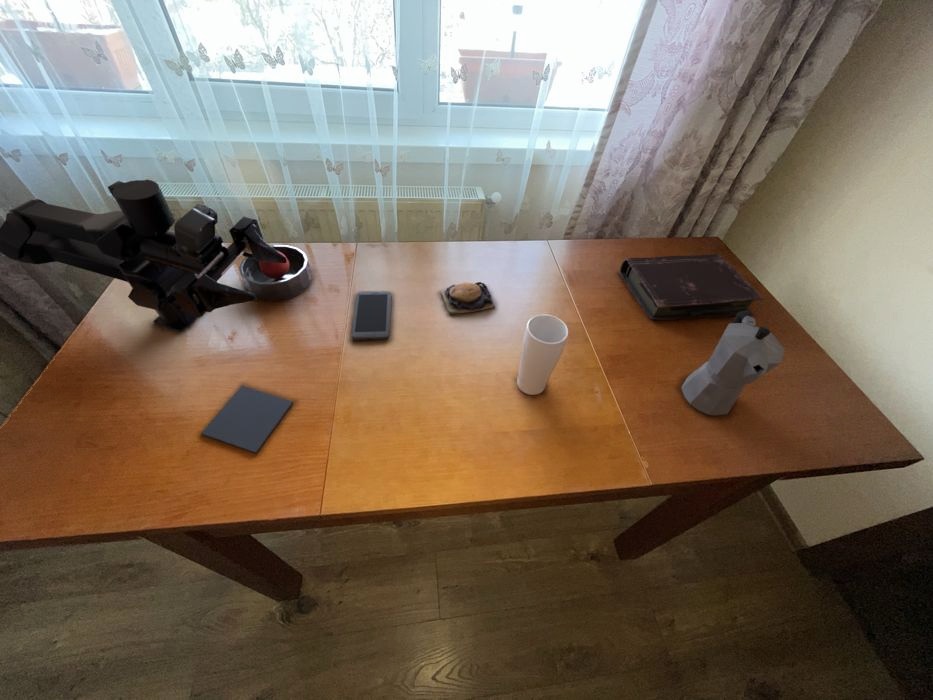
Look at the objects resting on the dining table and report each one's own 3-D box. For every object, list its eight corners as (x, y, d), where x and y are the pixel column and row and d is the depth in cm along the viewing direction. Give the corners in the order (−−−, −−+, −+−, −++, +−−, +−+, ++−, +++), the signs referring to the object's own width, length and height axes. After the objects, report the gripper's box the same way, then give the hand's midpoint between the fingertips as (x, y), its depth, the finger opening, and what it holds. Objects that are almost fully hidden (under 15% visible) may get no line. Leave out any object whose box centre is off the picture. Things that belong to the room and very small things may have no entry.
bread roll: (449, 317, 85) (449, 304, 82) (439, 291, 90) (439, 278, 87) (496, 309, 87) (498, 296, 84) (484, 284, 92) (485, 272, 90)
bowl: (233, 291, 86) (224, 274, 82) (271, 256, 94) (265, 239, 91) (289, 307, 84) (283, 290, 80) (323, 269, 92) (319, 253, 89)
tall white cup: (551, 376, 76) (572, 320, 65) (544, 404, 72) (565, 349, 60) (517, 366, 77) (531, 309, 66) (508, 393, 73) (521, 336, 61)
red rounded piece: (284, 288, 87) (273, 258, 81) (260, 284, 87) (247, 253, 81) (297, 272, 90) (288, 242, 84) (273, 268, 91) (262, 237, 85)
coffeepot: (736, 432, 70) (809, 369, 57) (681, 417, 72) (739, 351, 58) (726, 368, 80) (786, 301, 67) (678, 355, 82) (726, 287, 68)
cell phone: (351, 340, 78) (350, 338, 78) (357, 293, 88) (356, 291, 87) (389, 339, 79) (389, 337, 79) (391, 293, 88) (390, 290, 88)
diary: (617, 271, 99) (624, 254, 95) (707, 267, 103) (718, 250, 99) (651, 324, 87) (661, 307, 83) (752, 317, 91) (766, 301, 87)
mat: (201, 434, 64) (200, 433, 63) (243, 386, 70) (242, 385, 70) (256, 453, 62) (255, 452, 62) (293, 402, 69) (292, 401, 68)
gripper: (108, 248, 53) (217, 280, 53) (199, 177, 64) (290, 203, 64) (150, 304, 62) (244, 332, 62) (223, 233, 73) (303, 256, 73)
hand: (271, 278), depth 65 cm, fingers open, 9 cm apart
